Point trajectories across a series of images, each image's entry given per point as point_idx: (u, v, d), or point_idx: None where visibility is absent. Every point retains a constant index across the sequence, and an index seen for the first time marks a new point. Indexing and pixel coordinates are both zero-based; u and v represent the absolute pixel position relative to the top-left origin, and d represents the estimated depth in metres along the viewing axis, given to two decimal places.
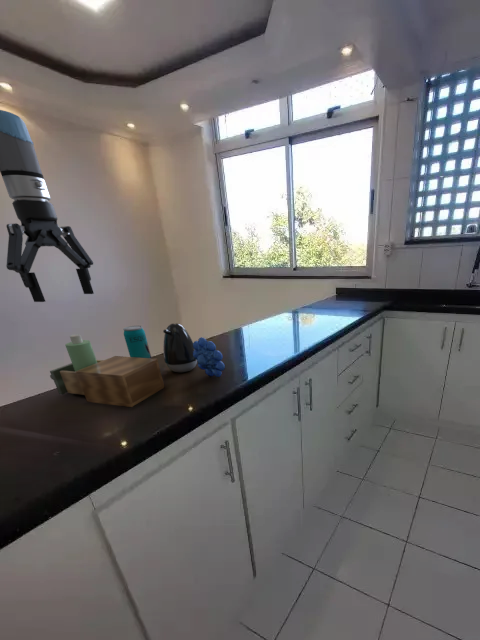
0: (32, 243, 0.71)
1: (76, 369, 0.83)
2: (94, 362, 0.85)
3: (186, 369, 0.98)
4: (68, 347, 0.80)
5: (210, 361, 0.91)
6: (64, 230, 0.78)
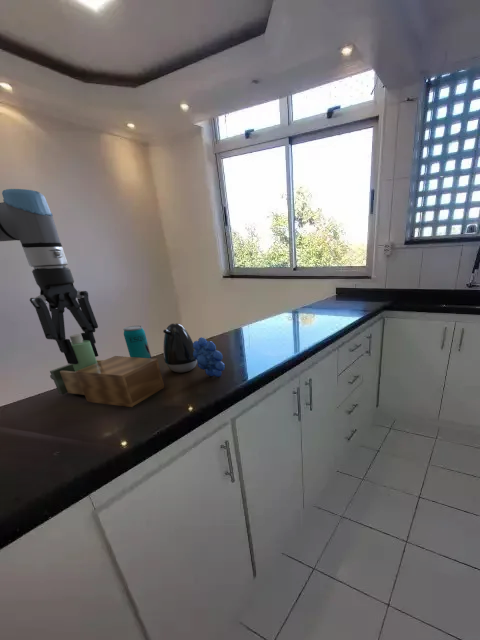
0: (56, 310, 0.76)
1: (76, 369, 0.83)
2: (94, 362, 0.85)
3: (186, 369, 0.98)
4: None
5: (210, 361, 0.91)
6: (80, 293, 0.81)
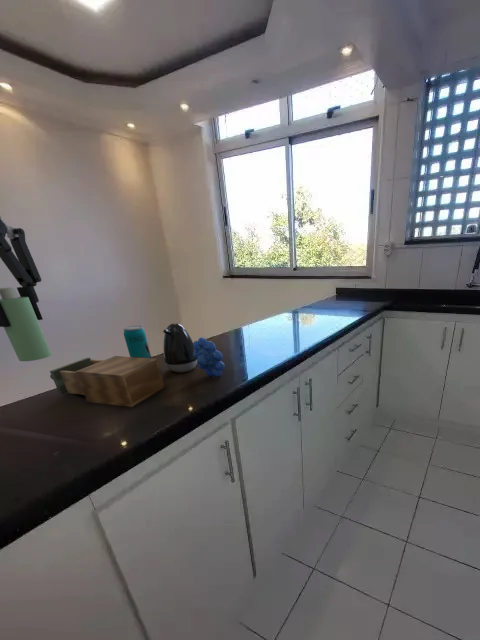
0: None
1: (9, 335, 0.61)
2: (35, 326, 0.63)
3: (186, 369, 0.98)
4: None
5: (210, 361, 0.91)
6: (13, 231, 0.60)
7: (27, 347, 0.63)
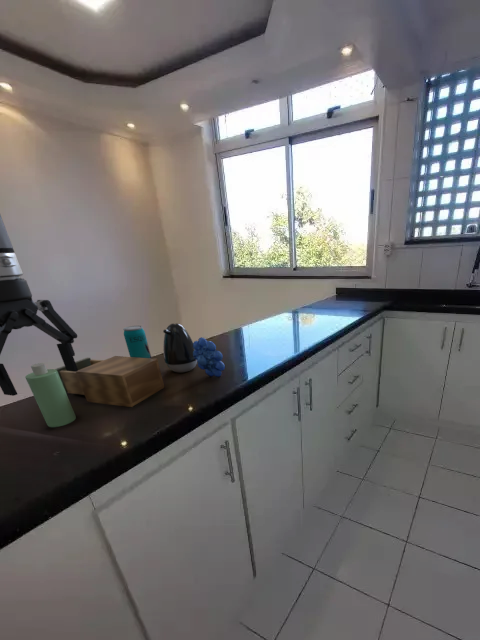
0: (0, 329, 0.59)
1: (40, 405, 0.68)
2: (62, 396, 0.70)
3: (186, 369, 0.98)
4: (28, 380, 0.65)
5: (210, 361, 0.91)
6: (41, 305, 0.66)
7: (56, 415, 0.69)
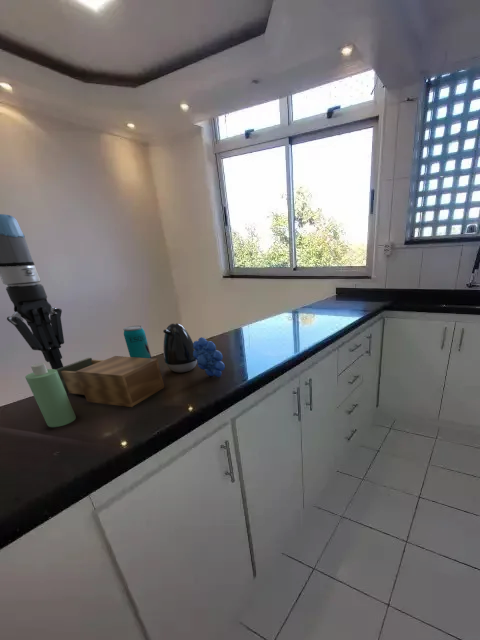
0: (34, 325, 0.81)
1: (40, 405, 0.68)
2: (62, 396, 0.70)
3: (186, 369, 0.98)
4: (28, 380, 0.65)
5: (210, 361, 0.91)
6: (54, 310, 0.86)
7: (56, 415, 0.69)
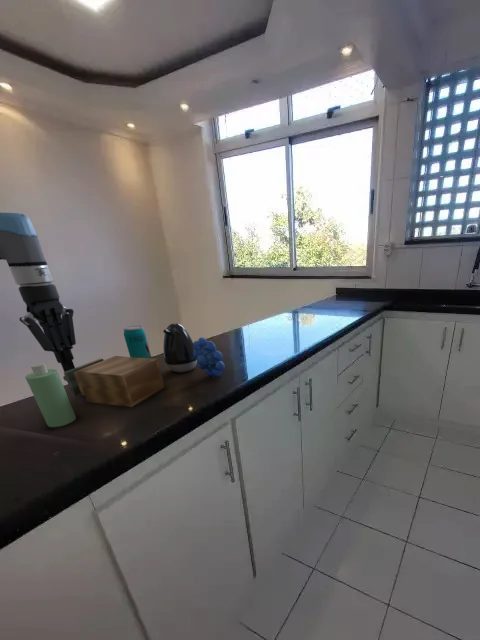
0: (47, 326, 0.80)
1: (40, 405, 0.68)
2: (62, 396, 0.70)
3: (186, 369, 0.98)
4: (28, 380, 0.65)
5: (210, 361, 0.91)
6: (66, 310, 0.85)
7: (56, 415, 0.69)
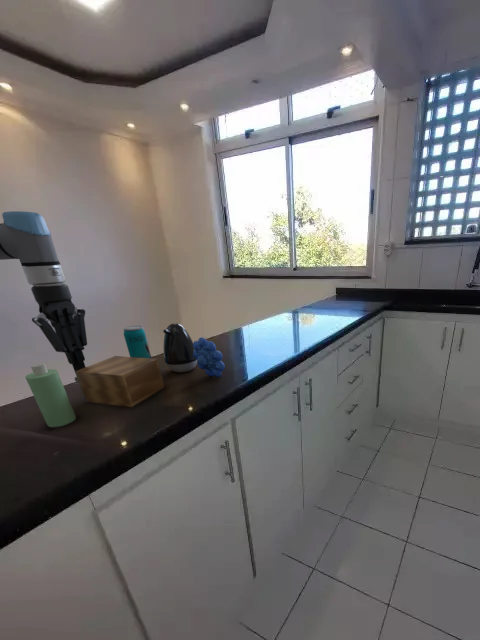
0: (59, 326, 0.79)
1: (40, 405, 0.68)
2: (62, 396, 0.70)
3: (186, 369, 0.98)
4: (28, 380, 0.65)
5: (210, 361, 0.91)
6: (77, 310, 0.84)
7: (56, 415, 0.69)
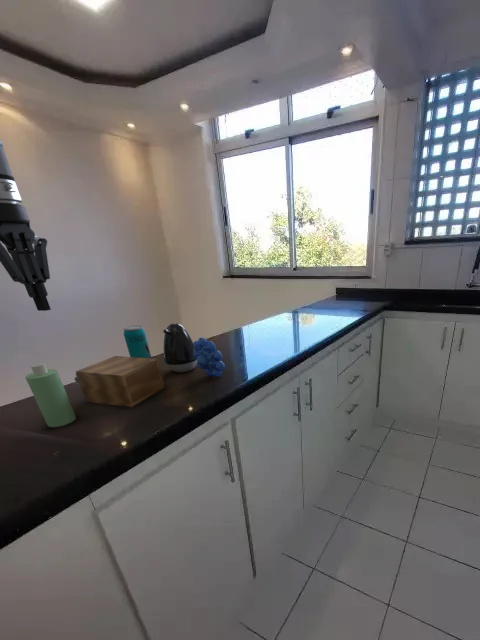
0: (15, 252, 0.73)
1: (40, 405, 0.68)
2: (62, 396, 0.70)
3: (186, 369, 0.98)
4: (28, 380, 0.65)
5: (210, 361, 0.91)
6: (38, 239, 0.77)
7: (56, 415, 0.69)
